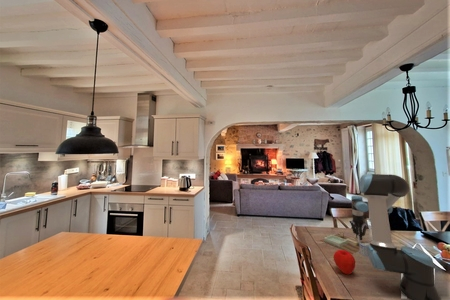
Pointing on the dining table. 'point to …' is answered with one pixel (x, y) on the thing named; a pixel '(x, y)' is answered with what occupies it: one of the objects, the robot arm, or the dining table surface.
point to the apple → (344, 261)
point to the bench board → (347, 247)
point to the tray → (335, 240)
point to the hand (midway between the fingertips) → (359, 243)
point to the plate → (352, 241)
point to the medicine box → (363, 248)
